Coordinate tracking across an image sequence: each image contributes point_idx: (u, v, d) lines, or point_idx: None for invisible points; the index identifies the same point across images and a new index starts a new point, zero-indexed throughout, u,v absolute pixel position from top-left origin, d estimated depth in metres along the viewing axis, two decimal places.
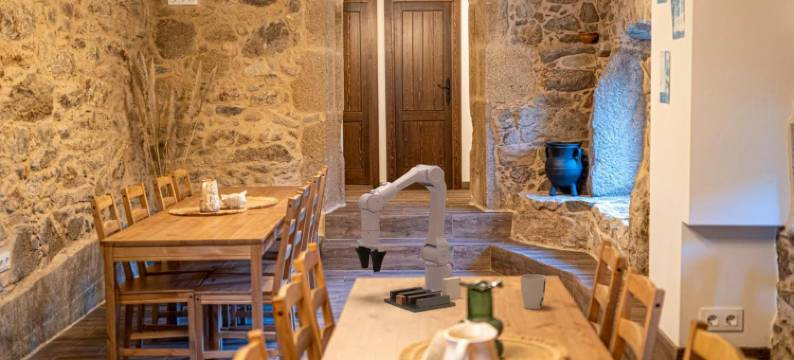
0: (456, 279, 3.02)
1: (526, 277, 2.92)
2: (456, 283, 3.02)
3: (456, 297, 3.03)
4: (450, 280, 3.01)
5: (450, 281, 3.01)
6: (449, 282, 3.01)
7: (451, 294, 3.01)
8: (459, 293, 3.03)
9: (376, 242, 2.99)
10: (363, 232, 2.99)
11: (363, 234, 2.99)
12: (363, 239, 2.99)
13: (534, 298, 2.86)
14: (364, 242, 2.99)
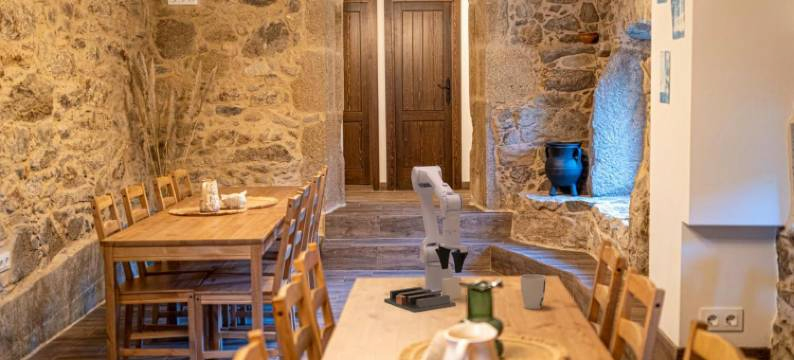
0: (456, 279, 3.02)
1: (526, 277, 2.92)
2: (456, 283, 3.02)
3: (456, 297, 3.03)
4: (450, 280, 3.01)
5: (450, 281, 3.01)
6: (449, 282, 3.01)
7: (451, 294, 3.01)
8: (459, 293, 3.03)
9: (457, 243, 2.99)
10: (445, 233, 2.99)
11: (445, 235, 2.99)
12: (444, 240, 2.99)
13: (534, 298, 2.86)
14: (446, 243, 2.99)
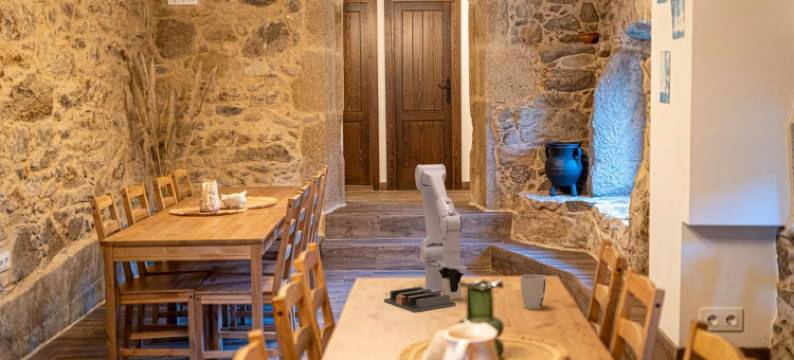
0: None
1: (526, 277, 2.92)
2: None
3: (456, 297, 3.03)
4: None
5: None
6: (449, 282, 3.01)
7: (451, 294, 3.01)
8: (459, 293, 3.03)
9: (457, 263, 3.00)
10: (445, 253, 3.00)
11: (445, 255, 3.00)
12: (444, 260, 3.00)
13: (534, 298, 2.86)
14: (446, 263, 3.00)
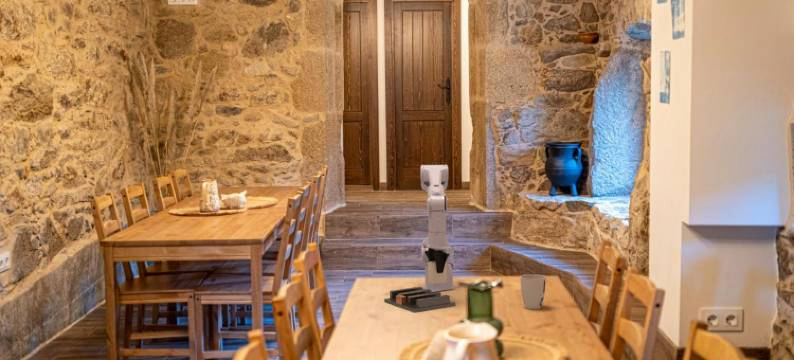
0: None
1: (526, 277, 2.92)
2: None
3: (442, 281, 2.99)
4: None
5: (435, 264, 2.97)
6: (435, 266, 2.97)
7: (437, 277, 2.98)
8: (445, 276, 2.99)
9: (443, 244, 2.96)
10: (430, 234, 2.96)
11: (430, 236, 2.96)
12: (430, 241, 2.96)
13: (534, 298, 2.86)
14: (431, 244, 2.96)
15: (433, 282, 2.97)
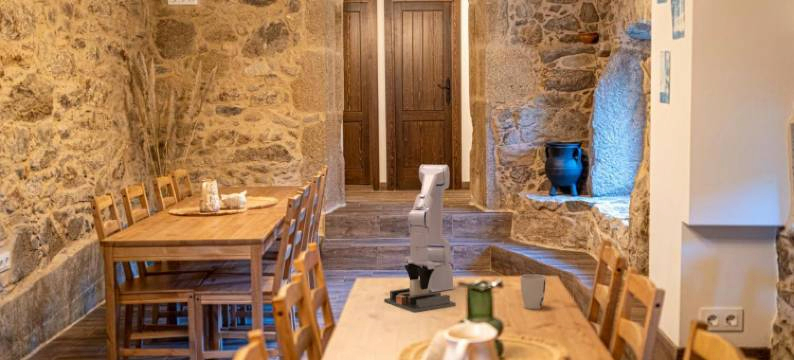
0: None
1: (526, 277, 2.92)
2: None
3: None
4: (418, 282, 2.94)
5: (417, 282, 2.94)
6: (417, 284, 2.94)
7: None
8: None
9: (425, 259, 2.93)
10: (412, 249, 2.93)
11: (412, 251, 2.93)
12: (412, 256, 2.93)
13: (534, 298, 2.86)
14: (413, 259, 2.93)
15: None
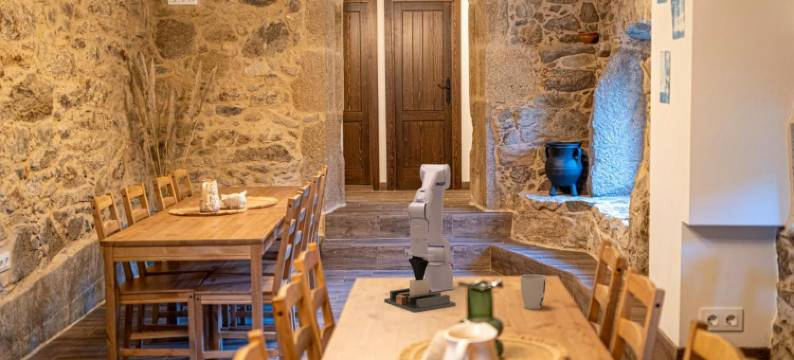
0: (424, 280, 2.95)
1: (526, 277, 2.92)
2: (424, 285, 2.95)
3: None
4: (418, 282, 2.94)
5: (417, 282, 2.94)
6: (417, 284, 2.93)
7: None
8: None
9: (425, 251, 2.92)
10: (412, 241, 2.92)
11: (412, 243, 2.92)
12: (412, 248, 2.93)
13: (534, 298, 2.86)
14: (413, 251, 2.92)
15: None
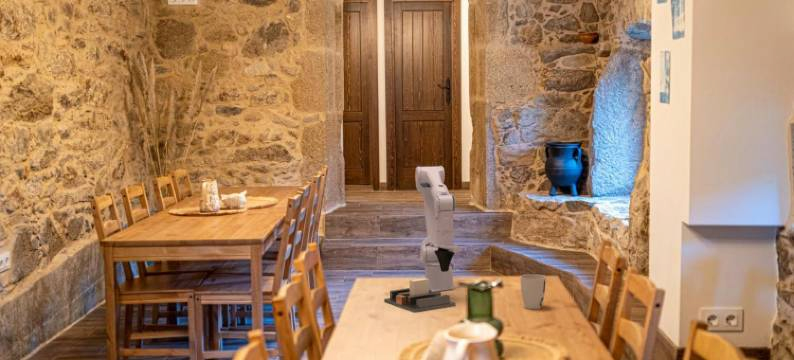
0: (424, 280, 2.95)
1: (526, 277, 2.92)
2: (424, 285, 2.95)
3: None
4: (418, 282, 2.94)
5: (417, 282, 2.94)
6: (417, 284, 2.94)
7: None
8: None
9: (451, 243, 2.99)
10: (438, 233, 2.99)
11: (438, 235, 2.99)
12: (438, 240, 2.99)
13: (534, 298, 2.86)
14: (439, 243, 2.99)
15: None
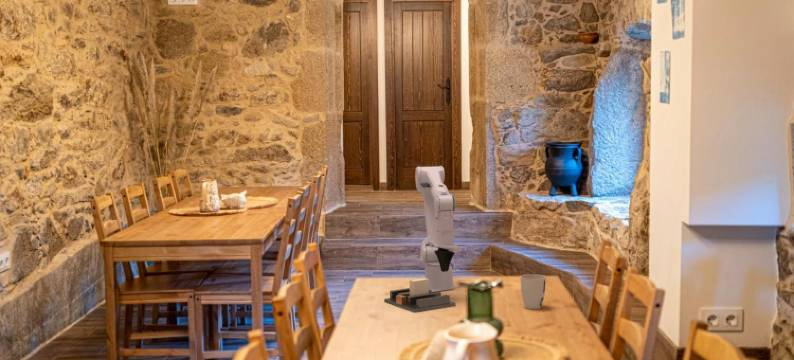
0: (424, 280, 2.95)
1: (526, 277, 2.92)
2: (424, 285, 2.95)
3: None
4: (418, 282, 2.94)
5: (417, 282, 2.94)
6: (417, 284, 2.94)
7: None
8: None
9: (451, 243, 2.99)
10: (438, 233, 2.99)
11: (438, 235, 2.99)
12: (438, 240, 2.99)
13: (534, 298, 2.86)
14: (439, 243, 2.99)
15: None
